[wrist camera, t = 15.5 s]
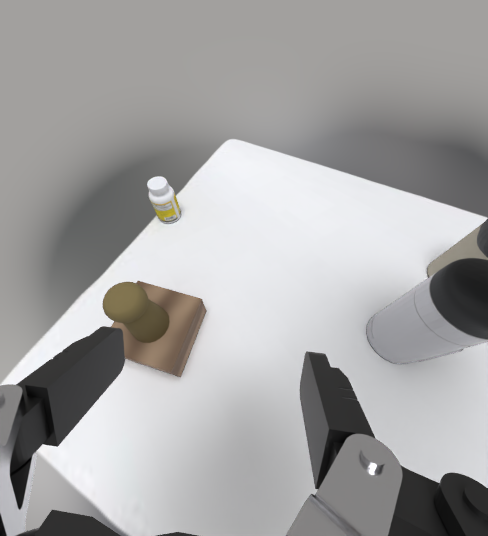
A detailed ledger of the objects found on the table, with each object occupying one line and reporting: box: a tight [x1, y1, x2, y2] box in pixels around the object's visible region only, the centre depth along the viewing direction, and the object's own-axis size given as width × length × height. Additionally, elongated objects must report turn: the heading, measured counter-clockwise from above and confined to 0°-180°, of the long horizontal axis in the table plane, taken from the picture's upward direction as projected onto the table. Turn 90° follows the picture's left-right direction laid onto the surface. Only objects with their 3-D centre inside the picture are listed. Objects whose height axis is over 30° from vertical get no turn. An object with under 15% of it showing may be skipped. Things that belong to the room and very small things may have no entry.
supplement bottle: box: [147, 177, 181, 223], centre depth 54 cm, size 5×5×10 cm
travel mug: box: [427, 222, 488, 277], centre depth 42 cm, size 8×8×18 cm
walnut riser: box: [111, 281, 206, 377], centre depth 41 cm, size 12×12×6 cm
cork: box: [103, 282, 170, 343], centre depth 34 cm, size 6×6×11 cm
